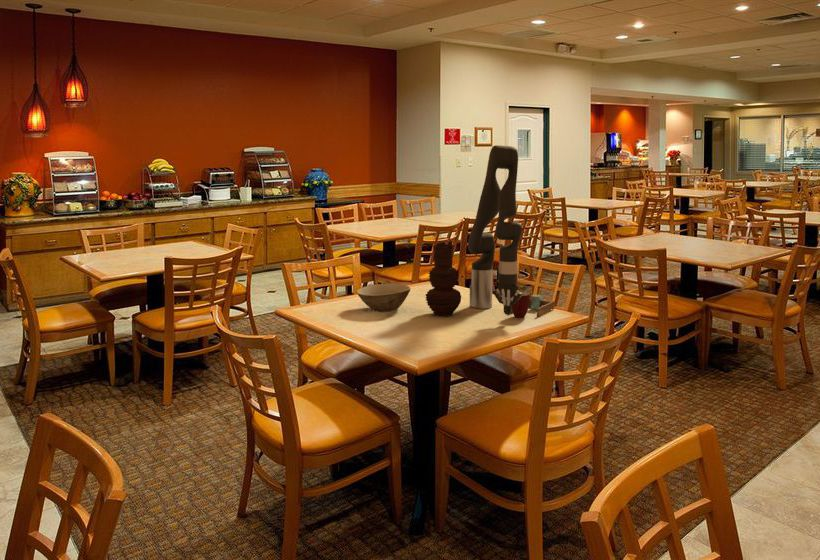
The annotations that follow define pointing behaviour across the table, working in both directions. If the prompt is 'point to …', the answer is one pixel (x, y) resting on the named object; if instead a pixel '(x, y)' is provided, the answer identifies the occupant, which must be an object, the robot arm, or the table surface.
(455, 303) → the vase
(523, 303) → the mug
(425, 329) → the table surface
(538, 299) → the tea tin
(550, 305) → the caddy
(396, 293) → the bowl
